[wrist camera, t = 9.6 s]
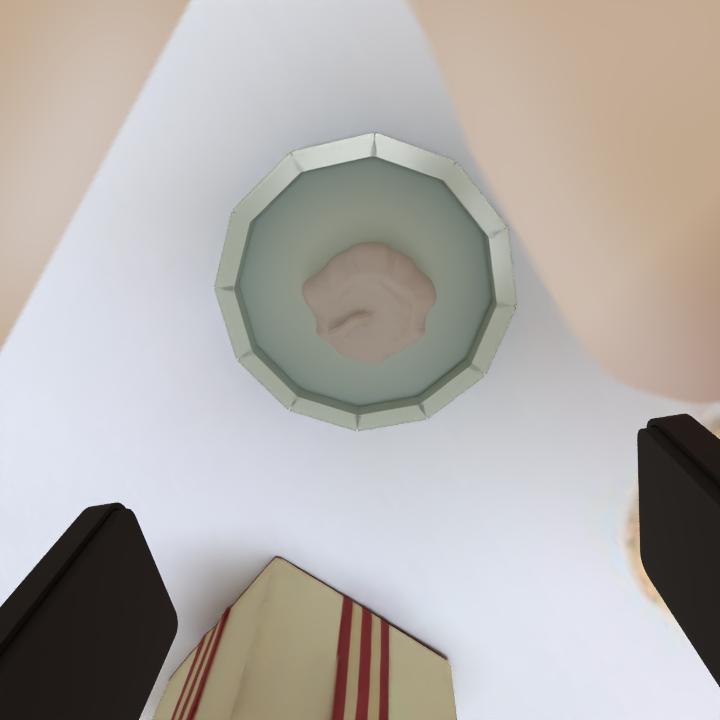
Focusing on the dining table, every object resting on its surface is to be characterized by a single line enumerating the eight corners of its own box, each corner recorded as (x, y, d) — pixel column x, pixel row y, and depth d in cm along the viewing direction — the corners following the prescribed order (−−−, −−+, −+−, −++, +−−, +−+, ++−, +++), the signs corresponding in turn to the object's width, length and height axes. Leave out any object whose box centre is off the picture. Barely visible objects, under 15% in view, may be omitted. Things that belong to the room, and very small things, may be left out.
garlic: (312, 344, 27) (297, 384, 22) (306, 237, 25) (289, 254, 20) (429, 344, 27) (441, 384, 22) (432, 235, 25) (447, 253, 20)
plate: (486, 107, 24) (495, 103, 22) (518, 386, 28) (528, 402, 26) (193, 175, 25) (178, 176, 23) (270, 430, 30) (263, 448, 28)
